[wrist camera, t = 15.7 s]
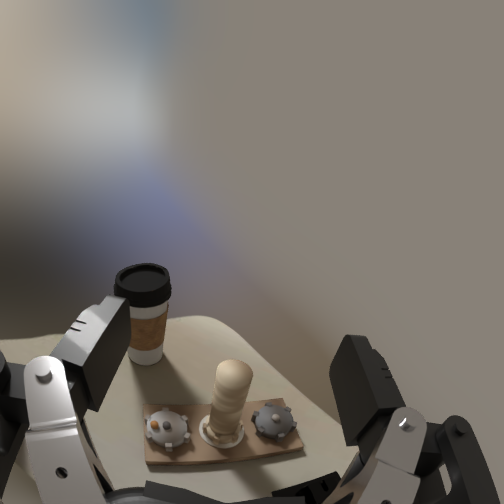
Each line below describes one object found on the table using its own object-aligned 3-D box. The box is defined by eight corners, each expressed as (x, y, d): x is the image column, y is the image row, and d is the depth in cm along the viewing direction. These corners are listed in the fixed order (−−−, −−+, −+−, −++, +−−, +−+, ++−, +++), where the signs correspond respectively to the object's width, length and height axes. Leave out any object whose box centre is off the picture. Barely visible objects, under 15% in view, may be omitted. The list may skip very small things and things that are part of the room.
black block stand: (341, 465, 29) (355, 450, 27) (364, 503, 23) (381, 492, 21) (255, 490, 25) (263, 479, 23) (275, 537, 18) (286, 532, 17)
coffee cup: (180, 359, 43) (184, 281, 37) (136, 378, 37) (128, 297, 31) (153, 331, 48) (153, 256, 42) (112, 345, 42) (103, 267, 36)
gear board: (146, 464, 25) (143, 454, 23) (144, 408, 32) (142, 395, 31) (300, 450, 31) (308, 439, 29) (280, 402, 38) (286, 389, 37)
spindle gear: (205, 446, 28) (213, 391, 24) (200, 416, 32) (206, 356, 28) (245, 442, 30) (265, 387, 25) (236, 414, 34) (253, 355, 29)
